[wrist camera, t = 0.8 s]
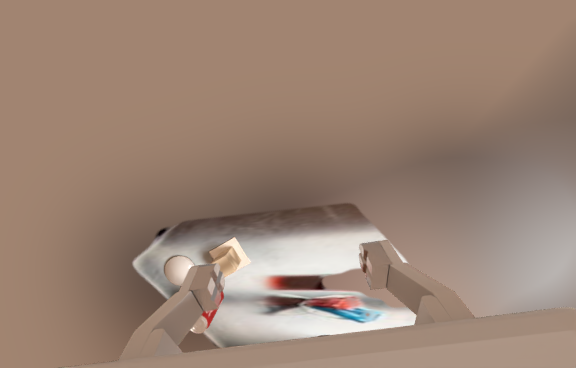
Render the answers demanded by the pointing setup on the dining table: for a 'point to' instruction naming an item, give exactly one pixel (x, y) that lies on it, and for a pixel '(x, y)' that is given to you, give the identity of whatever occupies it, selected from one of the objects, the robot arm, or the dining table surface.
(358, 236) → the dining table surface
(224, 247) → the beige card
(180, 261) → the white plate
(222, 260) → the oak block
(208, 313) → the soda can
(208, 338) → the dining table surface
